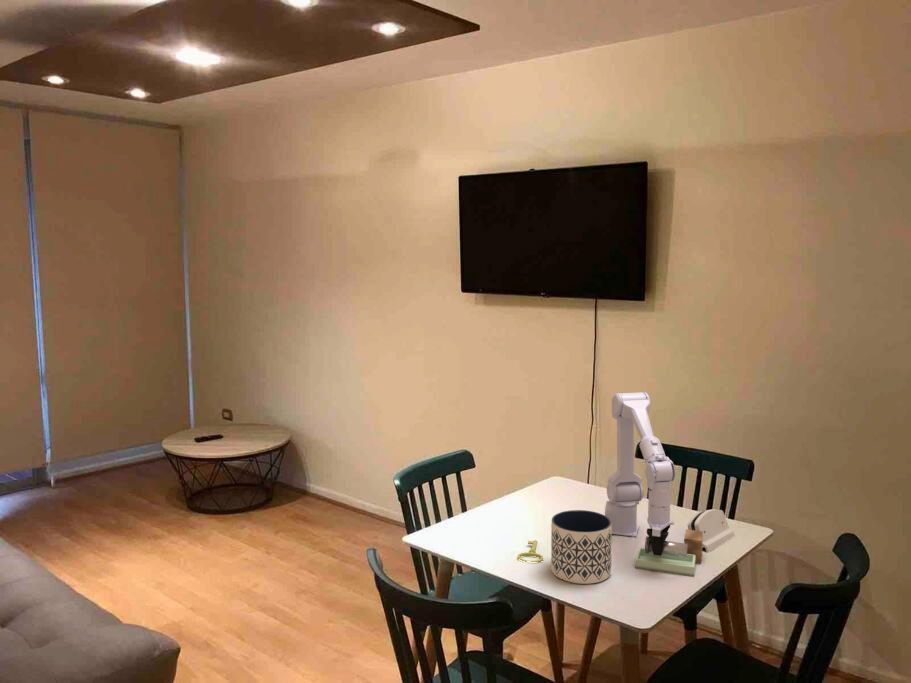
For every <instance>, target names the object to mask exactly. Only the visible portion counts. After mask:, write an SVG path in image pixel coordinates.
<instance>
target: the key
mask: <svg viewBox="0 0 911 683" xmlns="http://www.w3.org/2000/svg"><path fill="white" fill-rule="evenodd" d="M527 544H528V545H531V548H530V549H529V550H528V552H520V553H519V554H518V555H517V558H518V559H520V560H522V561H525V562H527V561H529V560H527V559H524V558H523V557H521V556H536V557H539V558H538V559H536V560H530V561H531V562H541V561H543V562H544V560H543V559H544V556H543V555H542V554H540V553H536V548H537V546H538V540H537V539H534V540H528V541H527ZM520 557H521V558H520ZM536 557H535V558H536ZM540 558H541V559H540ZM518 559H517V560H518ZM541 563H542V562H541Z"/></svg>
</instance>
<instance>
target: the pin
mask: <svg viewBox="0 0 911 683" xmlns="http://www.w3.org/2000/svg"><path fill="white" fill-rule="evenodd" d="M644 548H645V554H649V552H652V553H653V551H652V545H651V541H650V538H649V536H648V535H646V537H645V544H644ZM687 548H688V544H686V543H684V542H677V541H671V540H665V542H664V547H663V552H662V554H666V555H673V556H680V557H687Z"/></svg>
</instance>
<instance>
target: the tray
mask: <svg viewBox="0 0 911 683" xmlns="http://www.w3.org/2000/svg"><path fill="white" fill-rule="evenodd" d="M635 556H636V557H635V560H634V563H635V564H634V568H635V569H639V570H646V571H652V572H653V571H654V572H660V573H661V572H662V573H666V574H667V573H668V574H674V575H681V576H682V575H683V576H690V577H694V576H695V570H696V564H697V563H696V555H692V554H687V557H680V556H673V555H666V554H662V555H661V556H658V555H653V553H652V552H649V554H645V547H638V550H637V553H636V555H635Z"/></svg>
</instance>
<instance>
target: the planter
mask: <svg viewBox="0 0 911 683" xmlns="http://www.w3.org/2000/svg"><path fill="white" fill-rule="evenodd" d="M550 527H551V530H550V531H551V540H550V541H551V542H550V543H551V544H550V545H551V548H550V549H551V556H550V557H551V559H550V560H551V562H550V563H551V564H550V565H551V572H552V573H553V575H555V576H556V577H557V578H559V579H560V580H562V579H563V581H564V582H569V583H571V582H572V584H577V583H578V584H580V585H590V584H596V583H597V584H598V583H600V582H603V581H605V580H607V579H608V578H609V577H610V576H611V574H612V539H613V538H612V537H613V536H612V535H613V534H612V522H611V520H610V519H609V518H608V517H607V516H605V514H604V513H603V514H602V513H600V512H595V511H592V510H587V509H586V510H581V509H572V510H564V511H561V512H558V513H555V514H554V515H553V516H552V517H551V526H550ZM578 584H577V585H578Z"/></svg>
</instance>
